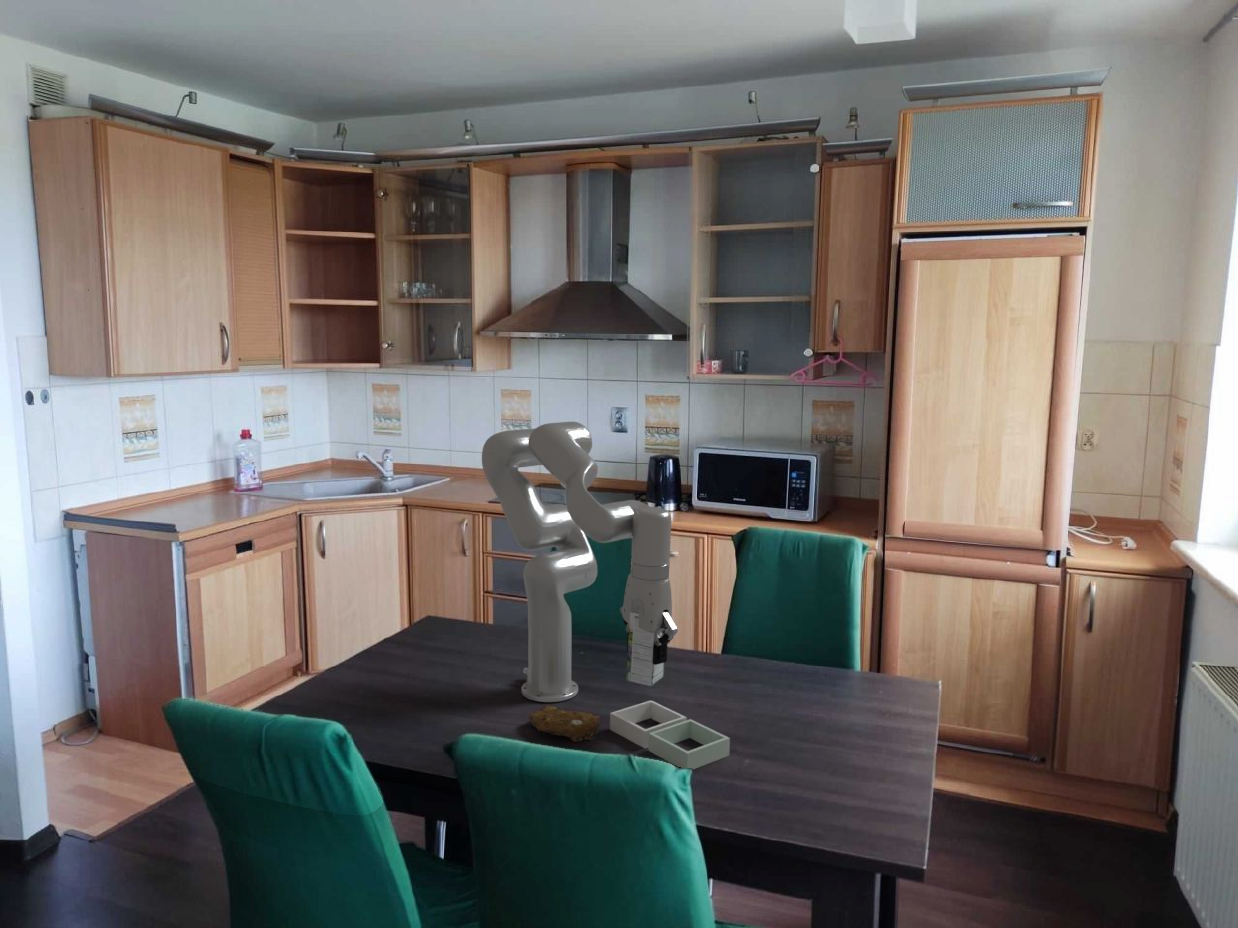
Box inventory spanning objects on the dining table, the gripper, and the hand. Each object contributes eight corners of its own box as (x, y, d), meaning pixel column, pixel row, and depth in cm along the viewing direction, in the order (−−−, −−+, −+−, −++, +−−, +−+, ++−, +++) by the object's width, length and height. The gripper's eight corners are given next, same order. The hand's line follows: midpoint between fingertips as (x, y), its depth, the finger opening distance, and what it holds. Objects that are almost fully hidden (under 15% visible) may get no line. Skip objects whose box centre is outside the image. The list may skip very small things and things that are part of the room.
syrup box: (638, 671, 188) (641, 603, 185) (665, 677, 185) (668, 608, 182) (625, 681, 183) (628, 610, 180) (652, 687, 180) (655, 616, 177)
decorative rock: (516, 740, 182) (588, 752, 178) (516, 720, 181) (588, 733, 177) (537, 714, 192) (605, 726, 188) (537, 696, 192) (606, 707, 187)
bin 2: (648, 750, 176) (648, 733, 176) (690, 735, 183) (690, 719, 182) (687, 771, 168) (687, 753, 167) (729, 755, 174) (729, 737, 174)
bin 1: (609, 729, 185) (610, 712, 185) (650, 716, 192) (651, 700, 192) (644, 748, 177) (645, 731, 176) (686, 733, 184) (686, 717, 183)
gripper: (607, 563, 184) (604, 647, 187) (665, 584, 171) (661, 674, 174) (636, 558, 189) (633, 640, 192) (694, 578, 176) (690, 666, 179)
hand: (646, 656), depth 183 cm, fingers closed on syrup box, 7 cm apart
